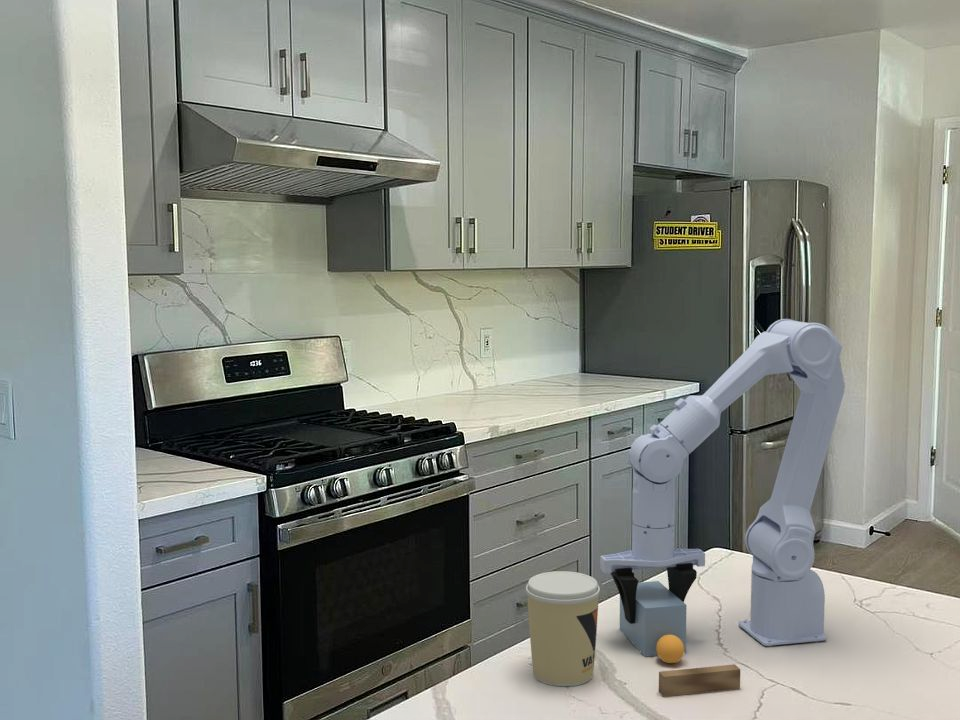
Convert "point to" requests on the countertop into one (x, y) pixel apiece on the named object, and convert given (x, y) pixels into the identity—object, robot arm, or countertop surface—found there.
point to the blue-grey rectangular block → (654, 617)
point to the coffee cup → (563, 626)
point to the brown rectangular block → (699, 680)
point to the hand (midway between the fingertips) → (652, 619)
